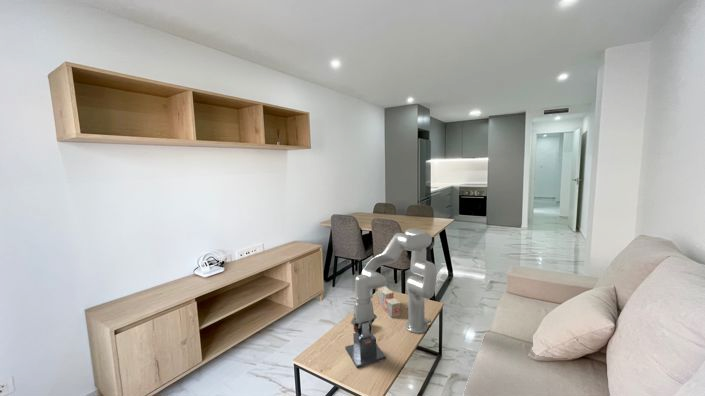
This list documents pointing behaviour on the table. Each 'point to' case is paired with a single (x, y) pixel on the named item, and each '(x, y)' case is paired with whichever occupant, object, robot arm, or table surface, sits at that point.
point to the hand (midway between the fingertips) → (364, 332)
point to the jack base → (364, 351)
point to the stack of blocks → (388, 302)
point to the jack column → (365, 330)
